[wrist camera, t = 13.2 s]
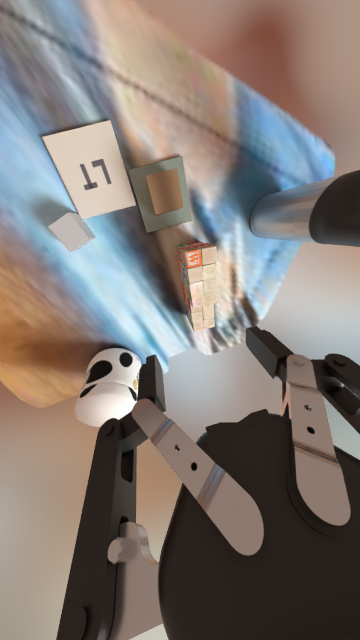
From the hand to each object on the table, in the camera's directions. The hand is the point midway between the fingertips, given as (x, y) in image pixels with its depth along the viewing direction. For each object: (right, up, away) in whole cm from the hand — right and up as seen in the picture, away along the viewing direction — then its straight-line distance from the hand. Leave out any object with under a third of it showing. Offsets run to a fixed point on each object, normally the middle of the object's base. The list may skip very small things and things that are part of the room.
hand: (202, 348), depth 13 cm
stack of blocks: (+2, +14, +32) cm, 35 cm away
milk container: (-24, -13, +43) cm, 51 cm away
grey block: (-25, +22, +21) cm, 39 cm away
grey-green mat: (-6, +29, +20) cm, 36 cm away
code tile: (-19, +31, +17) cm, 40 cm away
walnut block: (-5, +29, +20) cm, 36 cm away
